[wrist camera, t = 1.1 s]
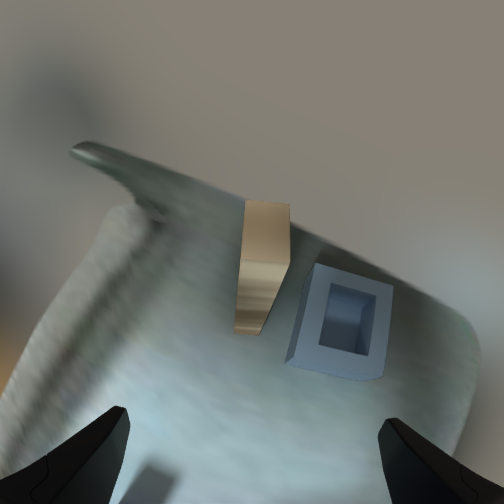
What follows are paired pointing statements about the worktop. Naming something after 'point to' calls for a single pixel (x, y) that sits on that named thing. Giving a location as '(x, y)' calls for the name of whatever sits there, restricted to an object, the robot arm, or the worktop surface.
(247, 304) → the slat
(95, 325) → the worktop surface
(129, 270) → the worktop surface
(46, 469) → the robot arm
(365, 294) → the blue-grey socket block
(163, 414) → the worktop surface
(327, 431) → the worktop surface
